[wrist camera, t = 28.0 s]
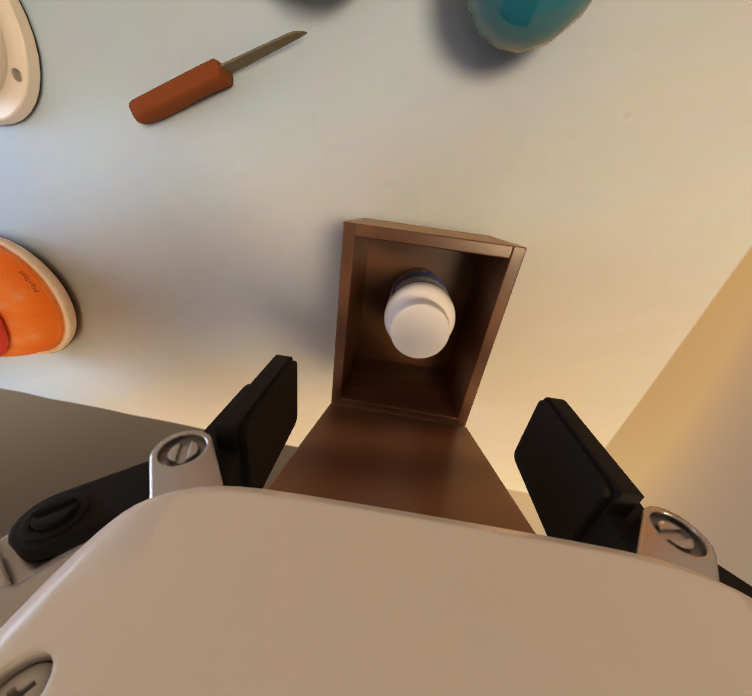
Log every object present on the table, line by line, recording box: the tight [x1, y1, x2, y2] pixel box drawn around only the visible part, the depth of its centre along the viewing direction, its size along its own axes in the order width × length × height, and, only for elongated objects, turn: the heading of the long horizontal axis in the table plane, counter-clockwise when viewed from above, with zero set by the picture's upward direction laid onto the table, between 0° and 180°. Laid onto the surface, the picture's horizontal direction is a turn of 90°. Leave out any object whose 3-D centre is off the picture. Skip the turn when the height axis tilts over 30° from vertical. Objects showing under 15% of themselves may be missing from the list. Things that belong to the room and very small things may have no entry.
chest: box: [331, 218, 526, 427], centre depth 25 cm, size 15×12×9 cm
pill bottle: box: [384, 268, 455, 358], centre depth 23 cm, size 5×5×10 cm
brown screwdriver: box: [129, 31, 307, 124], centre depth 22 cm, size 16×1×2 cm, turn 106°
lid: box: [268, 404, 535, 534], centre depth 17 cm, size 15×12×5 cm
